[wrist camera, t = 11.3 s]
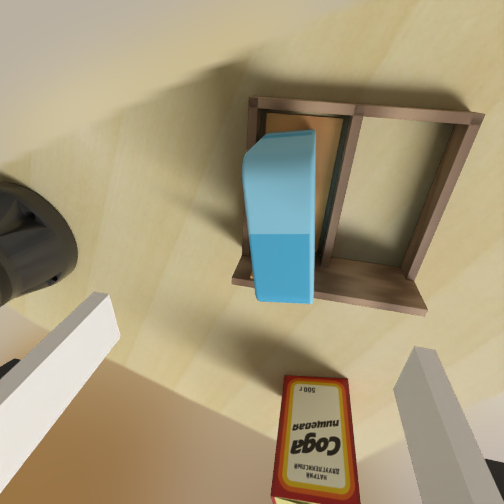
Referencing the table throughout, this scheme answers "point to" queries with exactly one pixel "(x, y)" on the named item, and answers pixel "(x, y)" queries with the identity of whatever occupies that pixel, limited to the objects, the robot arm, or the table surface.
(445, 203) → the rack
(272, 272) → the blue rounded block
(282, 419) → the baking soda box
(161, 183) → the table surface
